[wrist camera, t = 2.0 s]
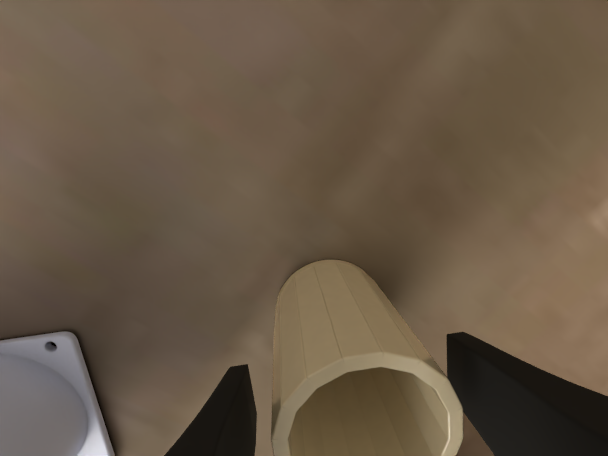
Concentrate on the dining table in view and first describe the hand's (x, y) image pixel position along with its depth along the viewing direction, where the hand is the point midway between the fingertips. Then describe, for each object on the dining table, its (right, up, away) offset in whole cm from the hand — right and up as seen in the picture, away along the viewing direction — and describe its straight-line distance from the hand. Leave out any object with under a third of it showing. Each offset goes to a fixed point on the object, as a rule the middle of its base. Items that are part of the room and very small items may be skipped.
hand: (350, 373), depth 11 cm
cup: (0, +1, +5) cm, 5 cm away
